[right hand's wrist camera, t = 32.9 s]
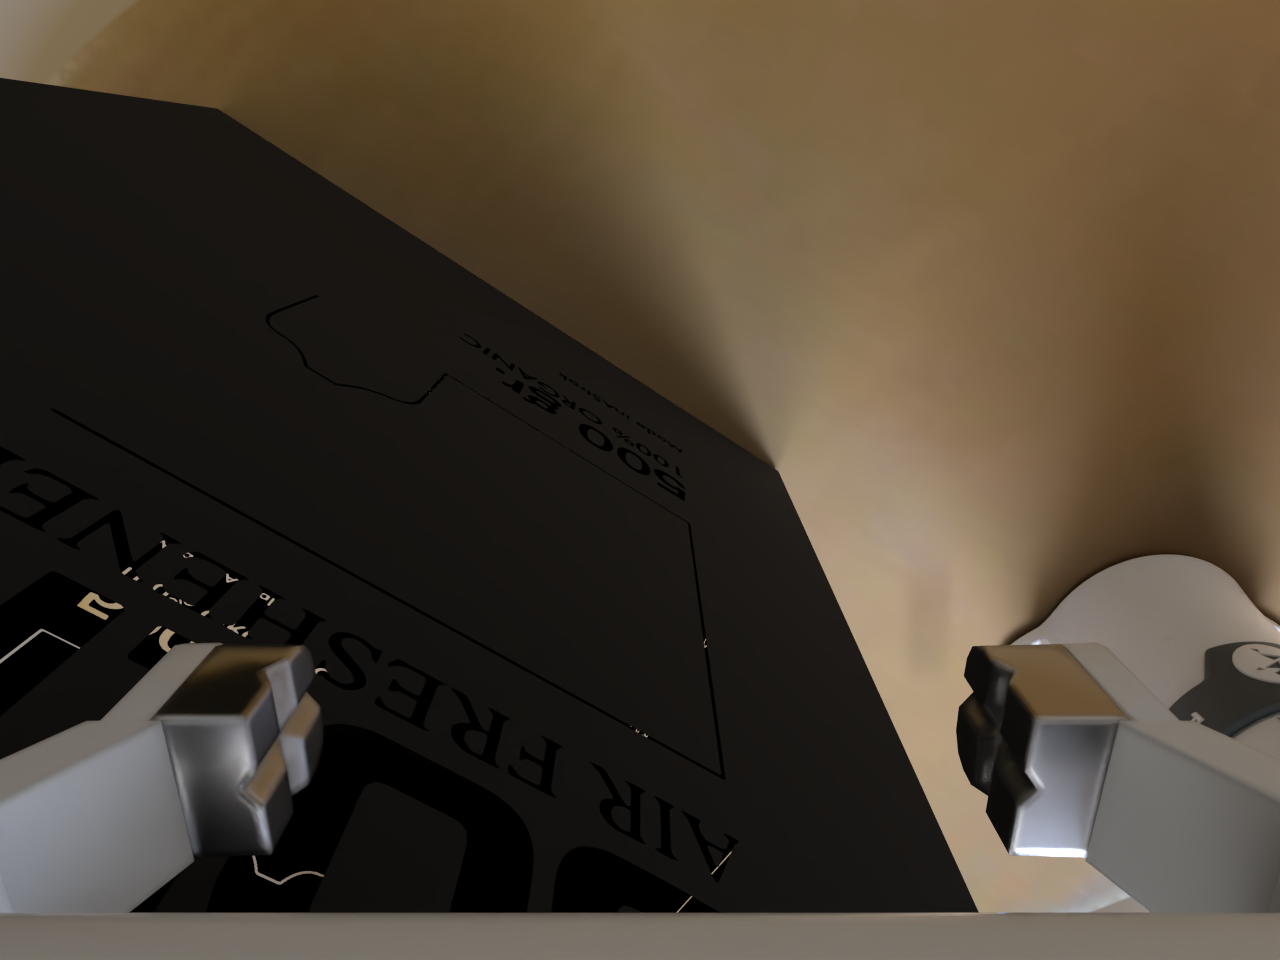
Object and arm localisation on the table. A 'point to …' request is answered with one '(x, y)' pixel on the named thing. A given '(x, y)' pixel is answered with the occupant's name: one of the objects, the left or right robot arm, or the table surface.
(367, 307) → the cardboard box
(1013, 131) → the table surface
